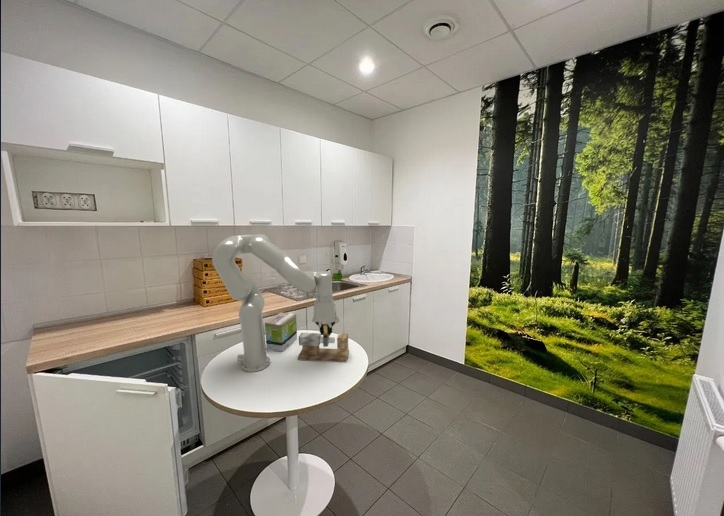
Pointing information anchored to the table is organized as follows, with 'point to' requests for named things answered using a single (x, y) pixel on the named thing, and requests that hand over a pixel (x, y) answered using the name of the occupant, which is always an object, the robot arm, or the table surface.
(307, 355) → the base
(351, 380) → the table surface
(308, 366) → the table surface
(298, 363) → the table surface
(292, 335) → the tea box
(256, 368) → the robot arm
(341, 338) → the socket block
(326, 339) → the brass knob sliding bolt
